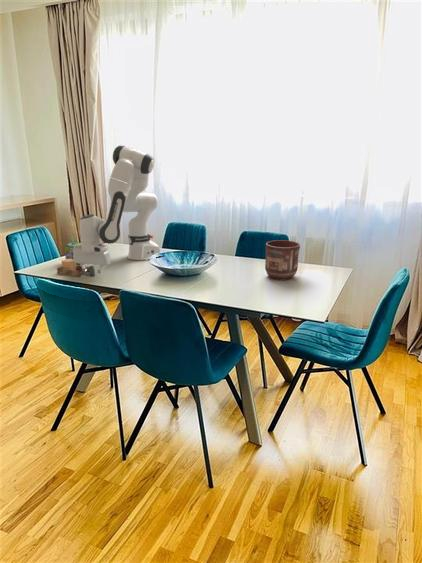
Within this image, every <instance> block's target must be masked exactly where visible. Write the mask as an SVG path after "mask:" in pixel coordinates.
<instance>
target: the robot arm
mask: <svg viewBox="0 0 422 563" xmlns="http://www.w3.org/2000/svg"><path fill="white" fill-rule="evenodd" d="M112 161H113V164H114V167H113V169H112V172H111V174H110V178H109V181H108V187H107V192H108V194H109V198H110V207H109V211H108V216H107V219H104V218H100V217H99V216H97V215H95V214H87V215H83V216H81V218H80V219H79V234H80V238H81V239H80V243H81V246H77V245H76V246H74V247H73V261H74V263H80V266H81V267H82V269H83V273H87V272H86V271H87V268H85V265H91V266H94V265H96V266H99V269H98V270H97V272H98V274H102V273H103V269H104V267H105V266H106V267H107V266H109V265H110V264H111V256H110V252H109V251H108V250H109V246H108V245H109V244H110V245H112V244H115V243H116V242H118V240H119V239H120V237H121V226H120V225H121V224H120V223H121V219H122V216H123V213H137V214H136V215H135V216H134V217H133V218H131V219H129V220H128V224H127V225H128V236H127V237H128V240H127V241H128V253H127V254H128V255H127V259H130V260H133V261H134V260H135V261H149V260H148V259H149V258H150V257H151V256H152V255H154V254H156V253H160V252H161V248H160V246H159V245H158V244H157V243H156V242H154V241H153V240H151V239H153V238H154V235H153V234H148V222H149V218H150V217H151V214H152V213H153V212H154V211H155V210H157V208H158V206H159V198H158V196H157V195H156V193H152V192H144V191H145V190H146V189H147V188H148V185H149V174H150V173H152V171H153V170H154V168H155V159H154V157H153V155H151V154H150V153H146V152H144V151H141V150H139V149H137V148H136V149H135V148H133V147H129V146H128V147H127V146H125V145H118V146H116V147H115V149H114V150H113V153H112ZM100 240H101V241H102V242H103V243H102V242H100ZM104 243H105V244H104ZM106 244H108V245H106Z"/></svg>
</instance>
